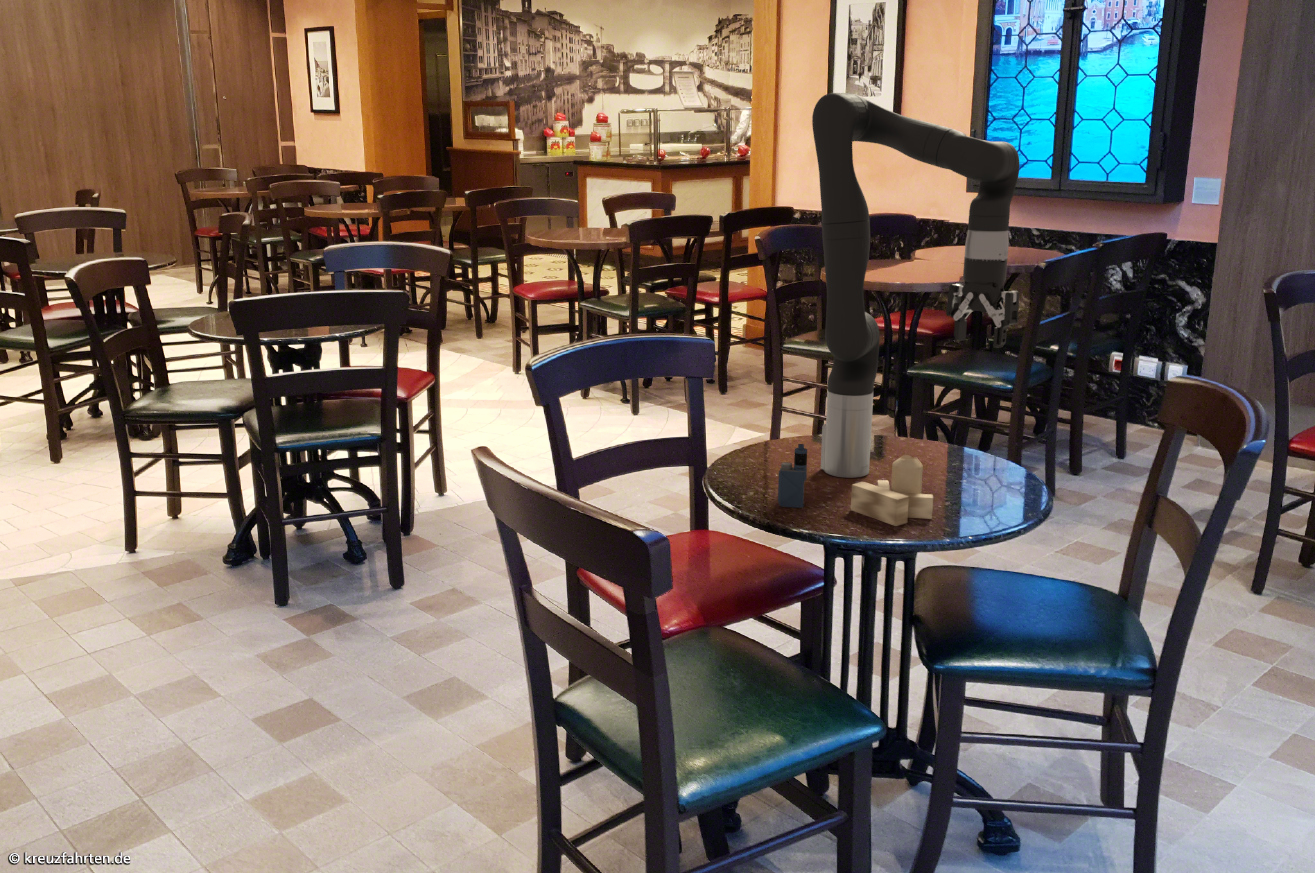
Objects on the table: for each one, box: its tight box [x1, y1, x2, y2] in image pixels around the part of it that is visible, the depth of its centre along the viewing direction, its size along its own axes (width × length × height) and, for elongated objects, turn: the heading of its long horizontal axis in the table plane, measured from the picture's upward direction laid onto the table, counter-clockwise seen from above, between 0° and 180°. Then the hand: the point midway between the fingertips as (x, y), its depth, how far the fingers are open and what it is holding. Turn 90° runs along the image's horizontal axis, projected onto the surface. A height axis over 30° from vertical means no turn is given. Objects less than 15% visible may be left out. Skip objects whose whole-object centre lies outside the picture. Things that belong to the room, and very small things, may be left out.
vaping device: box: [777, 443, 808, 509], centre depth 204 cm, size 3×5×12 cm, turn 78°
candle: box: [890, 454, 924, 494], centre depth 203 cm, size 6×6×10 cm
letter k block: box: [850, 479, 934, 527], centre depth 201 cm, size 13×10×5 cm
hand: (979, 343), depth 202 cm, fingers open, 8 cm apart
